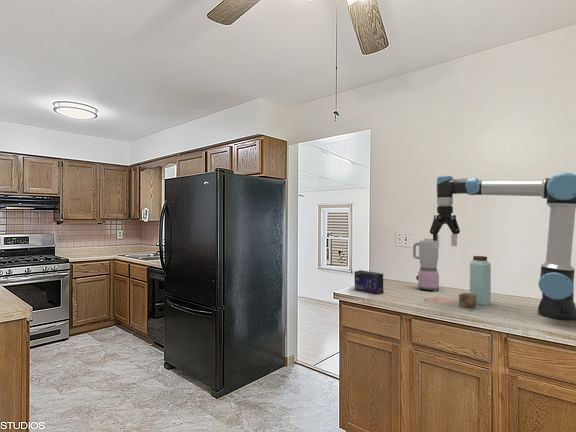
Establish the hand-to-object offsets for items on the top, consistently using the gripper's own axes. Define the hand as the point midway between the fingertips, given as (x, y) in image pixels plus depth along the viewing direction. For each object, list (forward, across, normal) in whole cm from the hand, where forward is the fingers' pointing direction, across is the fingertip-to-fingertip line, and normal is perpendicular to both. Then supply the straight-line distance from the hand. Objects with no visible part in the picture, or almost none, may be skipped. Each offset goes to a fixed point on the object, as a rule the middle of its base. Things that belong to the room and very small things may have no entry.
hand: (445, 246), depth 184 cm
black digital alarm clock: (+30, +14, -44) cm, 55 cm away
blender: (+30, -23, -33) cm, 51 cm away
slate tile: (+30, -5, +9) cm, 32 cm away
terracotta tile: (+30, -5, -6) cm, 31 cm away
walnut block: (+29, -5, +9) cm, 31 cm away
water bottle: (+30, -18, +7) cm, 36 cm away
